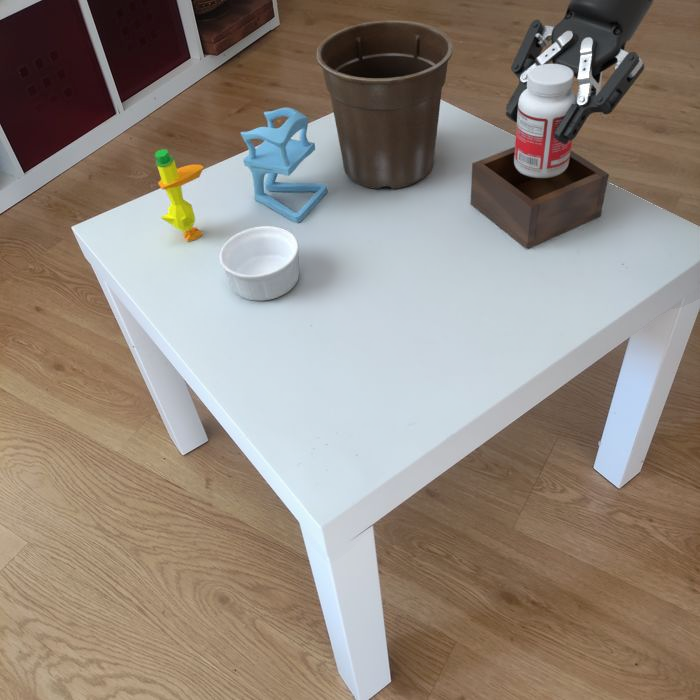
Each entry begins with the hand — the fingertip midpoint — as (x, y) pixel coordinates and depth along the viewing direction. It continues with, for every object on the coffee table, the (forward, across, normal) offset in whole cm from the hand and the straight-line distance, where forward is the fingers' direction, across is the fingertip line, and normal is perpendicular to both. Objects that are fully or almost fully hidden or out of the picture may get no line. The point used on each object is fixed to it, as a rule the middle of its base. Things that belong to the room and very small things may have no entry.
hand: (535, 129), depth 79 cm
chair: (+21, -24, -5) cm, 32 cm away
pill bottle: (+3, 0, +5) cm, 6 cm away
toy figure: (+30, -26, -14) cm, 43 cm away
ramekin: (+29, -13, -13) cm, 34 cm away
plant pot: (+11, -20, +5) cm, 24 cm away
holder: (+7, 0, +9) cm, 11 cm away
